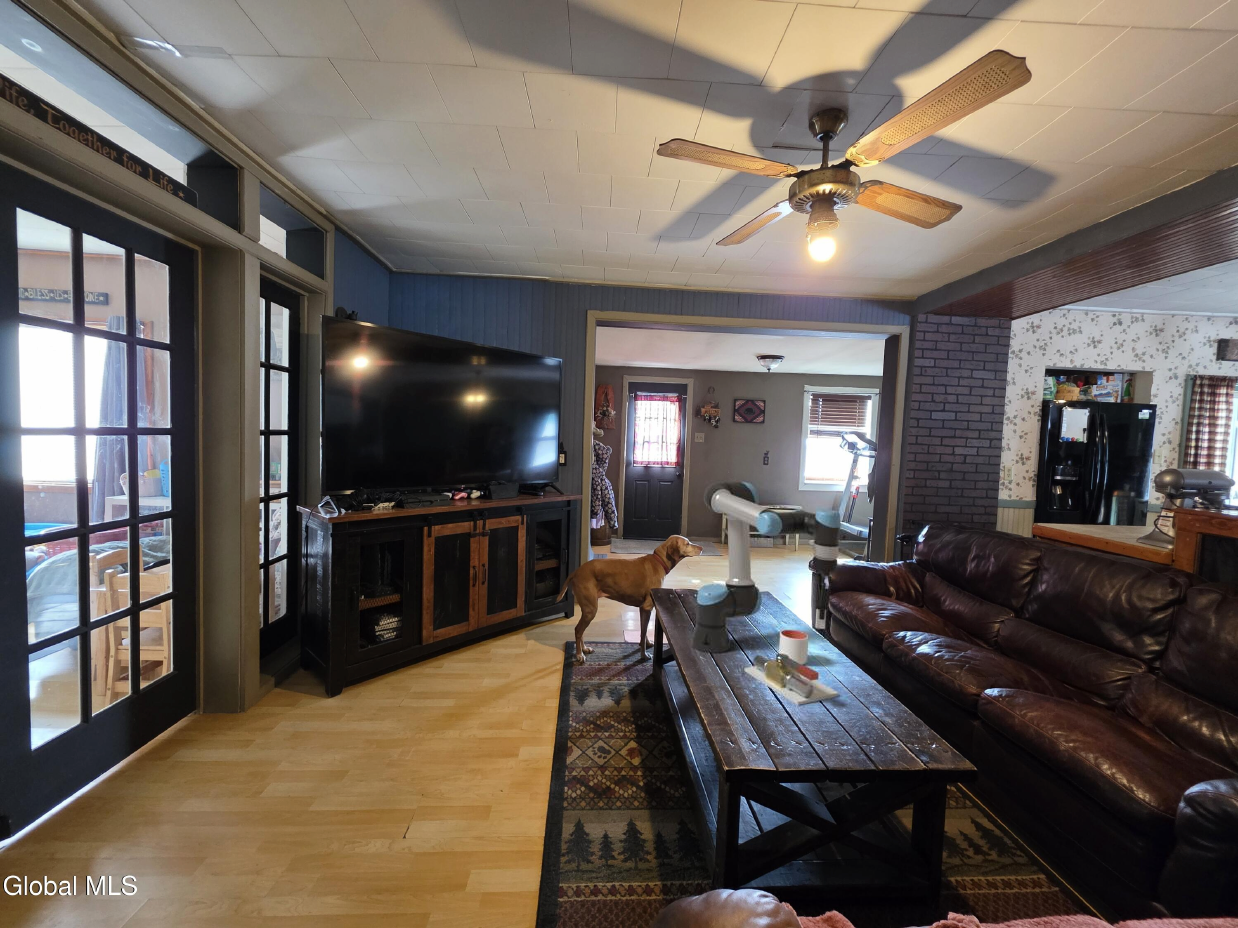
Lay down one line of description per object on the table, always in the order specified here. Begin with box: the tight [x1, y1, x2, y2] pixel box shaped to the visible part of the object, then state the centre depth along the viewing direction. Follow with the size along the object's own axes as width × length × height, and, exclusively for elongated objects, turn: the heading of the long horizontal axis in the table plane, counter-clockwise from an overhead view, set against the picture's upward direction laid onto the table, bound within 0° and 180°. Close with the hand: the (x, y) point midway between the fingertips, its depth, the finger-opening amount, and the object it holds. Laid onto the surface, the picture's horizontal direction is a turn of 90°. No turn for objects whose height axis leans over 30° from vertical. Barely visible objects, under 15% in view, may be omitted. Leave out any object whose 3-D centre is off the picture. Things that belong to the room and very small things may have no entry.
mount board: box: [744, 665, 839, 706], centre depth 179 cm, size 26×17×1 cm, turn 25°
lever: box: [775, 653, 820, 681], centre depth 171 cm, size 16×4×2 cm, turn 24°
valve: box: [752, 654, 813, 698], centre depth 177 cm, size 24×7×7 cm, turn 25°
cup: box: [778, 629, 809, 665], centre depth 197 cm, size 10×10×10 cm
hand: (820, 627), depth 175 cm, fingers closed
